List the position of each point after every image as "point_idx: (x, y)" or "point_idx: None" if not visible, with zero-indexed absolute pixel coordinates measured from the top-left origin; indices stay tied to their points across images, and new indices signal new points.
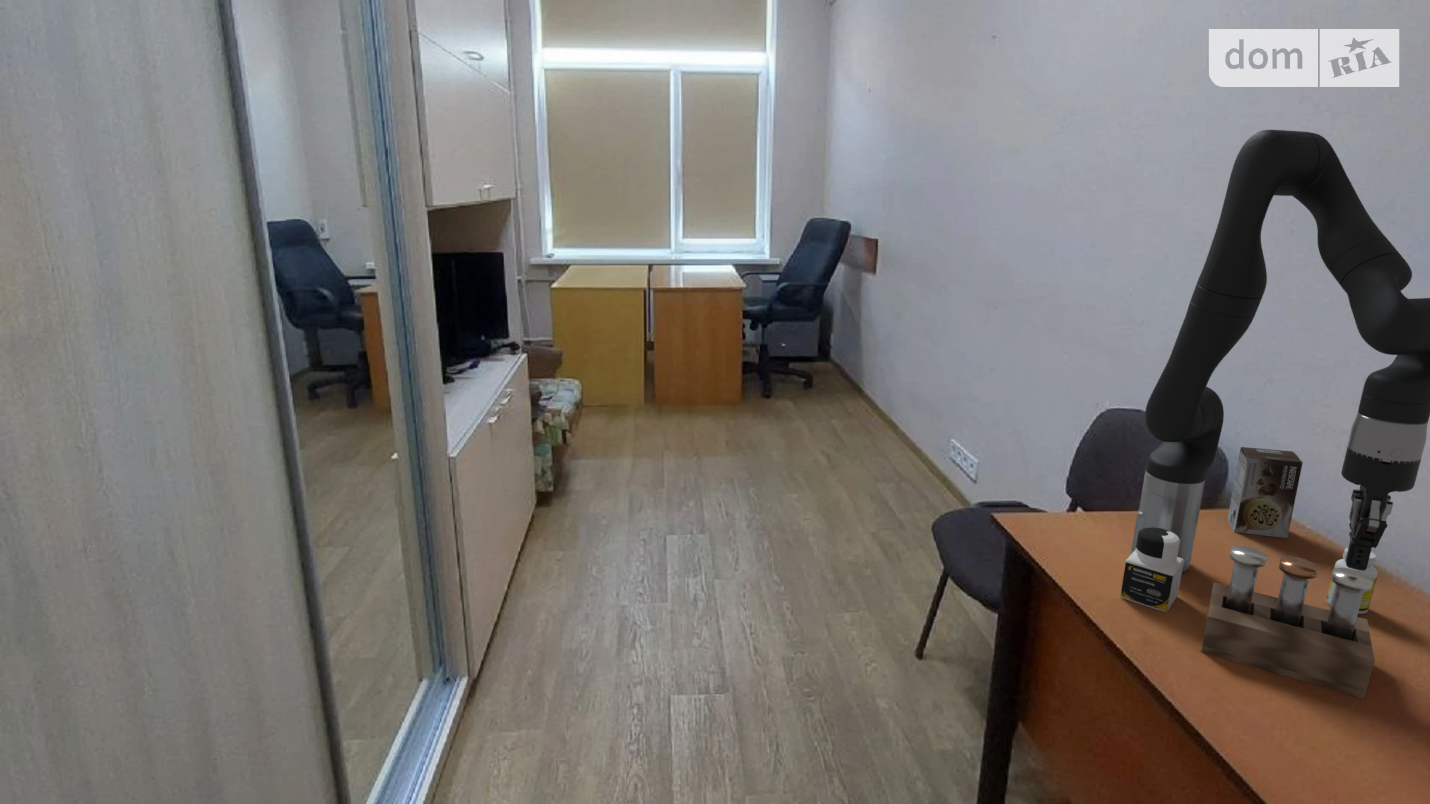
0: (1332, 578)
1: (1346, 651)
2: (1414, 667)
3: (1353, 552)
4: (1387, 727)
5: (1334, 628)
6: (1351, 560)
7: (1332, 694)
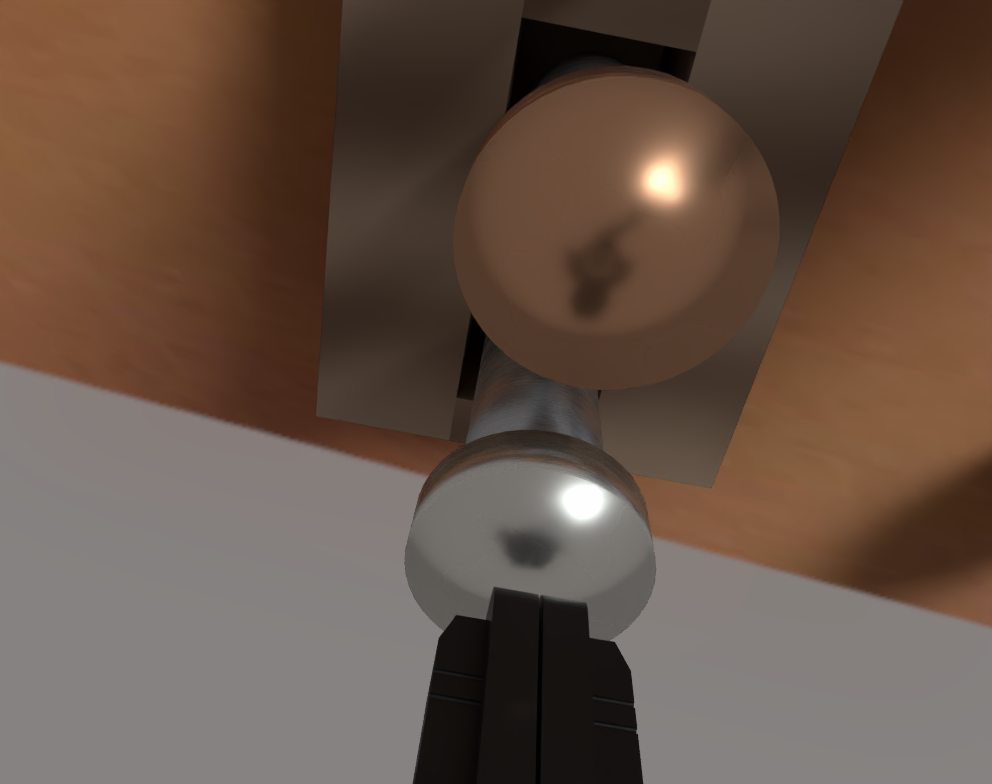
0: (515, 441)
1: (335, 330)
2: (657, 527)
3: (441, 728)
4: (211, 350)
5: None
6: (457, 653)
7: None
